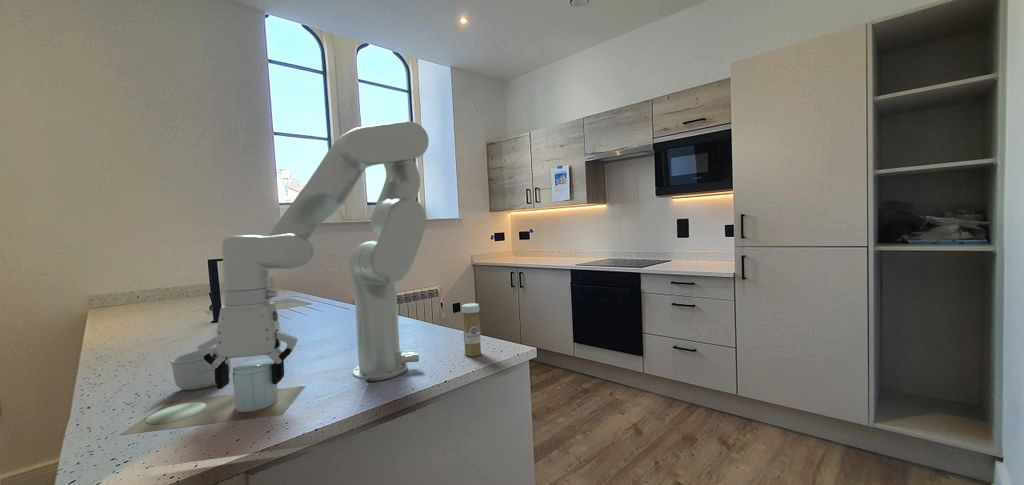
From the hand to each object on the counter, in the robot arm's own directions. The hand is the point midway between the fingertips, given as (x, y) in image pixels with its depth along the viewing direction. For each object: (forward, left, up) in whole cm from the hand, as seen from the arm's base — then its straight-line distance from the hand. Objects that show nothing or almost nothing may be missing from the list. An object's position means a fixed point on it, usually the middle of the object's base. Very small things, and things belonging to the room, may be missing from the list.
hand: (250, 384), depth 80 cm
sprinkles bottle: (-46, -19, -5) cm, 50 cm away
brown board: (+5, 0, -5) cm, 7 cm away
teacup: (+16, -18, -5) cm, 25 cm away
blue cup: (-1, 0, -4) cm, 4 cm away
